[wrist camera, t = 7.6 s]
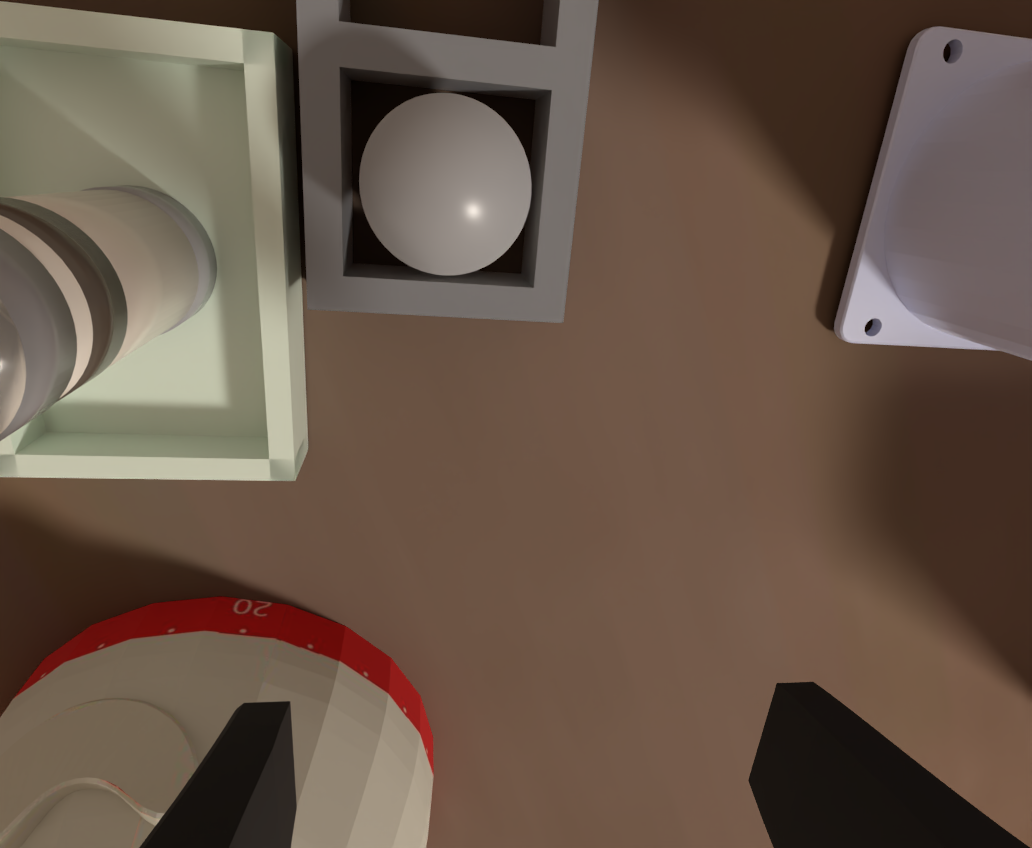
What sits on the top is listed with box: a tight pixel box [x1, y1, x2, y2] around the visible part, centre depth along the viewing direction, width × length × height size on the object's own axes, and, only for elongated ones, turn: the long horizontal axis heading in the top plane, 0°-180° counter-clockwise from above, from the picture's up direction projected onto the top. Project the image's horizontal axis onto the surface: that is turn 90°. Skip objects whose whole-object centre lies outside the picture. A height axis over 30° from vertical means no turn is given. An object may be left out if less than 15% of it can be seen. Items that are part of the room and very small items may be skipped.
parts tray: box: [0, 1, 308, 481], centre depth 15 cm, size 7×10×2 cm
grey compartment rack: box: [296, 0, 599, 323], centre depth 13 cm, size 6×11×4 cm, turn 175°
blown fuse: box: [0, 185, 217, 441], centre depth 12 cm, size 3×3×8 cm
